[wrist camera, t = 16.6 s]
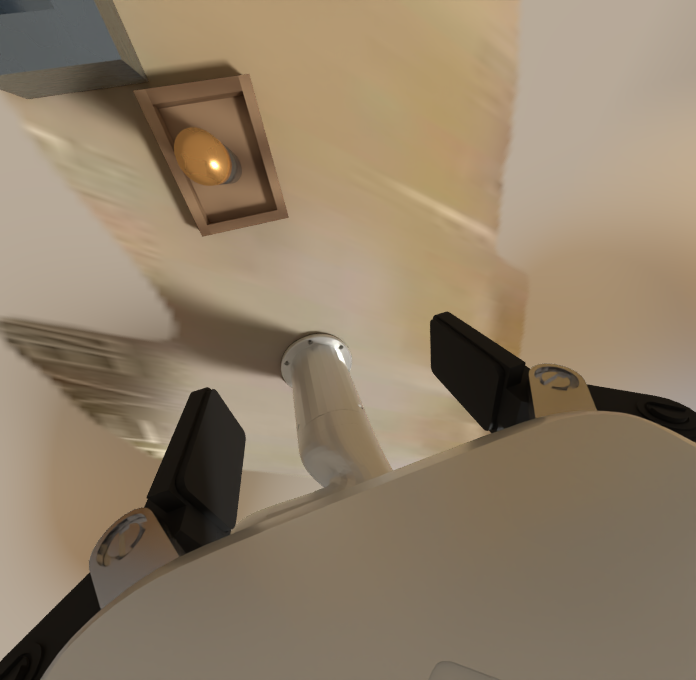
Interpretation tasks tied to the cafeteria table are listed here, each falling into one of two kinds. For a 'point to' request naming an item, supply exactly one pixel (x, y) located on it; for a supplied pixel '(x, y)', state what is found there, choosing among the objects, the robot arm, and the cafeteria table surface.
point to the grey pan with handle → (64, 48)
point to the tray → (235, 133)
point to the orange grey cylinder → (206, 158)
